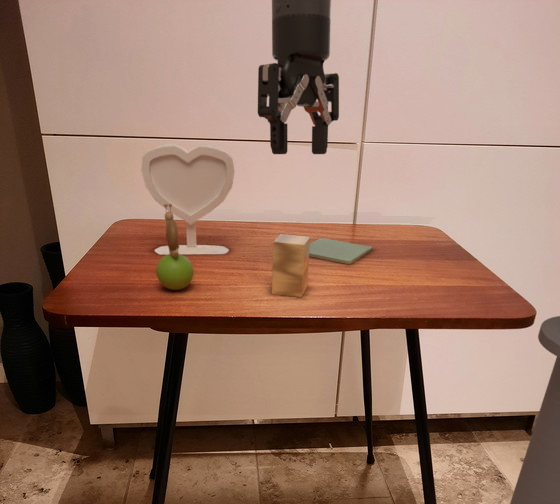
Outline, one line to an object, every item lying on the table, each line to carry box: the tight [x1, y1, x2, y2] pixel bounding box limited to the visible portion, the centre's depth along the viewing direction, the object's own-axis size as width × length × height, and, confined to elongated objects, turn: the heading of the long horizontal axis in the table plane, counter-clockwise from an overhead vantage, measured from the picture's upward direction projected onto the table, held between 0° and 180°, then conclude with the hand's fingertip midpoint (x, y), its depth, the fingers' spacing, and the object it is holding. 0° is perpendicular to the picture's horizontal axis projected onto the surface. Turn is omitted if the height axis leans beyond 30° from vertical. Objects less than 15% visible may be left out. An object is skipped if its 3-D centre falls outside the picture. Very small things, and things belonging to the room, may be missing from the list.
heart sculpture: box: [140, 143, 235, 256], centre depth 96 cm, size 16×5×18 cm, turn 98°
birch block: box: [271, 233, 311, 298], centre depth 82 cm, size 5×5×8 cm
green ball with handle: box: [156, 203, 194, 291], centre depth 80 cm, size 5×6×12 cm
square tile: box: [309, 237, 373, 265], centre depth 103 cm, size 11×11×1 cm
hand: (300, 154), depth 76 cm, fingers open, 8 cm apart
